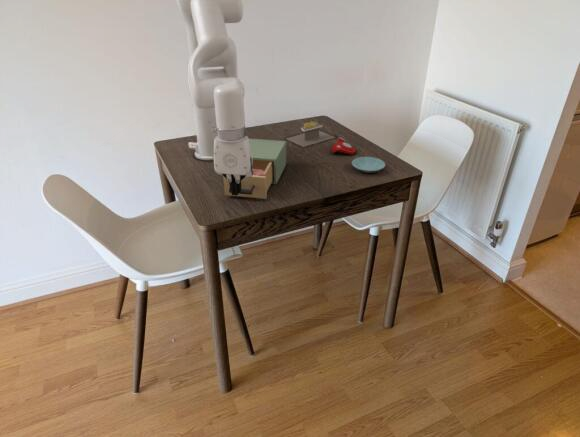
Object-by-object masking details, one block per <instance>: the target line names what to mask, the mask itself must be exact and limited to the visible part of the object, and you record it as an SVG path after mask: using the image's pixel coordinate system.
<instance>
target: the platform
mask: <svg viewBox="0 0 580 437" xmlns="http://www.w3.org/2000/svg"><path fill="white" fill-rule="evenodd" d="M320 128H323V124H320V123H318V122H317V121H316V122H315V121H310V122H306V123H303V126H301V127H300V129H301V131H303V133H300V134H296V135H293V136H289V137H286V138H285V140H287V141H289V142H291V143H293V144H296V145H297V146H300V147H302V148H304V147H308V146H311V145H315V144H318V143H322V142H324V141H328V140H332V139H335V138H336V136H333V135H331V134H329V133H328V132H327V133H326V132H325V131H322V130H320Z"/></svg>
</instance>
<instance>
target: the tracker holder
mask: <svg viewBox="0 0 580 437" xmlns="http://www.w3.org/2000/svg"><path fill="white" fill-rule="evenodd" d="M330 151H331V152H332V153H333V154H336V153H339V152H340V153H344V154H347V155H354V154H355V153H356V148H355V147H354V146H353V145H352V144H351V143H348V142H346V140H345V138H343V137H340V136H338V141H336V142H335V143H334V144H333V146H332V148H331V149H330Z"/></svg>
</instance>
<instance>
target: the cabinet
mask: <svg viewBox="0 0 580 437" xmlns="http://www.w3.org/2000/svg"><path fill="white" fill-rule="evenodd" d="M248 139H249V142H250V147H251V152H252V160H262V161H274V179H273V181H272V183H271V185H277V184H278V182H279V180H280V178H281V176H282V173H283V172H284V170H285V168H286V166H287V141H286V140H275V139H274V140H273V139H262V138H248Z"/></svg>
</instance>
